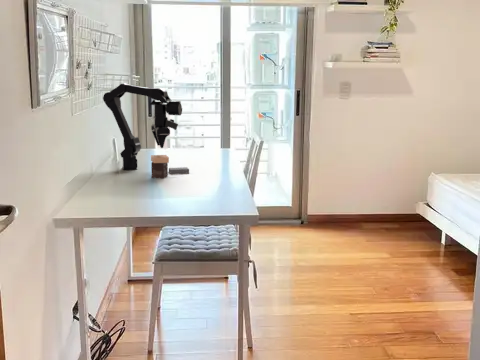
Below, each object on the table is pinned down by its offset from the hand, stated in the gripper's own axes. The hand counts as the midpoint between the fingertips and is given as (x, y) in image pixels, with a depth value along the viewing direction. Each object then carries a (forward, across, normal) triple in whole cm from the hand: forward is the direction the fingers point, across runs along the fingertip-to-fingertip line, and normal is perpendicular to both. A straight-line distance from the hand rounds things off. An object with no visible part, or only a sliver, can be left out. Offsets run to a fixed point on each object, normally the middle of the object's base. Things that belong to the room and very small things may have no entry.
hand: (160, 146), depth 263 cm
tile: (+5, -15, +3) cm, 16 cm away
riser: (+12, -6, -8) cm, 16 cm away
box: (+12, -15, +3) cm, 20 cm away
